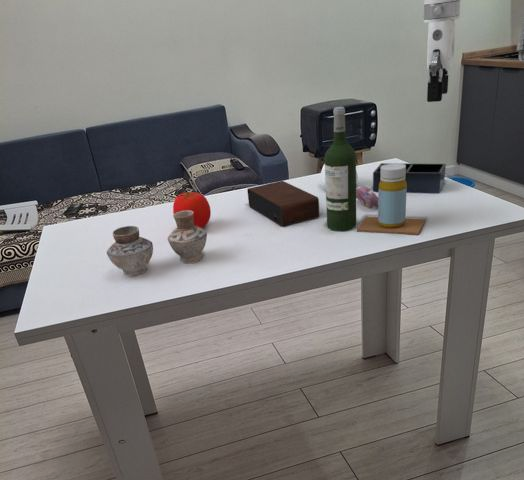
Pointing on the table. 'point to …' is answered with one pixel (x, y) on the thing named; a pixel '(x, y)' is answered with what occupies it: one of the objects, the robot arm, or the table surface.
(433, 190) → the divided storage box
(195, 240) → the pottery
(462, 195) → the table surface
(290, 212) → the brown box
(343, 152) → the wine bottle
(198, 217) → the tomato
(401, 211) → the bottle
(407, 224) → the cork mat
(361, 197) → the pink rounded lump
